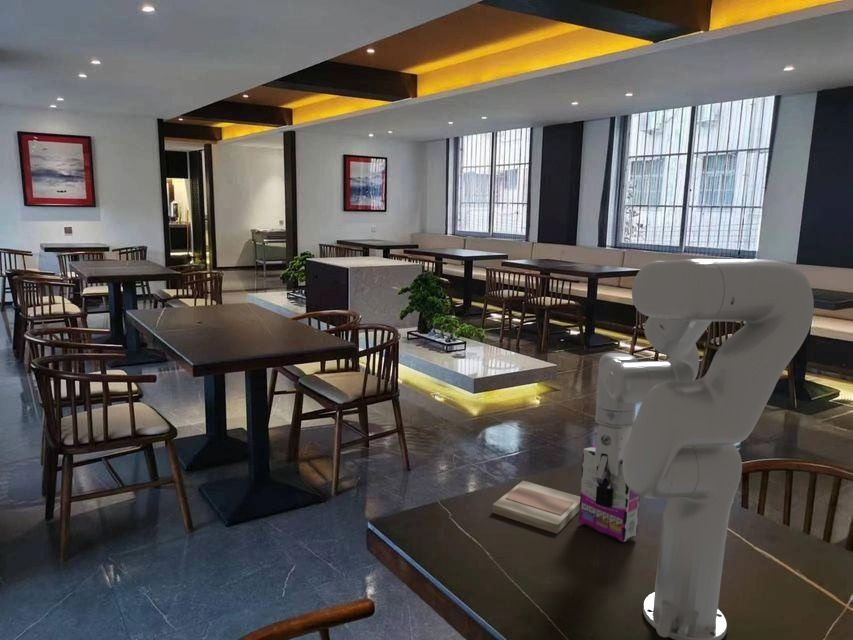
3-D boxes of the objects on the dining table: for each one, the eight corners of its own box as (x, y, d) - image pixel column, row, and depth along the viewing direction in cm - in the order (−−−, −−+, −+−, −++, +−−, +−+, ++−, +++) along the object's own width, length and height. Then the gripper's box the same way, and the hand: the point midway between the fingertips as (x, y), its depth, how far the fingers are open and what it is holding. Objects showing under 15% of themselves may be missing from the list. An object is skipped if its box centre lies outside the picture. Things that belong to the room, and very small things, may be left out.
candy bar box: (638, 536, 127) (644, 458, 124) (624, 543, 124) (630, 464, 121) (591, 515, 136) (596, 443, 133) (577, 522, 132) (581, 448, 130)
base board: (557, 533, 129) (557, 523, 128) (492, 512, 137) (492, 503, 136) (583, 506, 141) (584, 497, 140) (522, 488, 149) (523, 479, 149)
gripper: (620, 430, 117) (614, 521, 120) (646, 408, 131) (639, 490, 134) (581, 422, 121) (576, 510, 124) (610, 401, 135) (605, 481, 138)
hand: (609, 498), depth 129 cm, fingers closed on candy bar box, 5 cm apart
